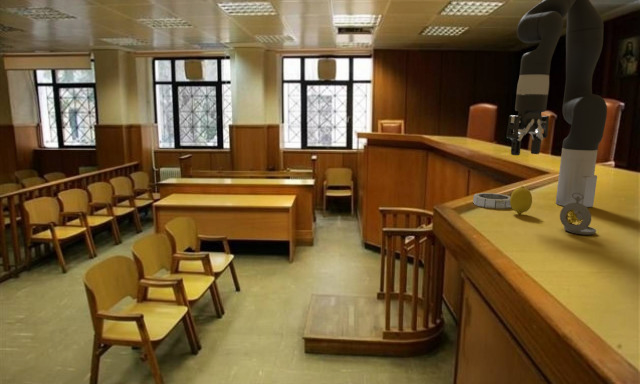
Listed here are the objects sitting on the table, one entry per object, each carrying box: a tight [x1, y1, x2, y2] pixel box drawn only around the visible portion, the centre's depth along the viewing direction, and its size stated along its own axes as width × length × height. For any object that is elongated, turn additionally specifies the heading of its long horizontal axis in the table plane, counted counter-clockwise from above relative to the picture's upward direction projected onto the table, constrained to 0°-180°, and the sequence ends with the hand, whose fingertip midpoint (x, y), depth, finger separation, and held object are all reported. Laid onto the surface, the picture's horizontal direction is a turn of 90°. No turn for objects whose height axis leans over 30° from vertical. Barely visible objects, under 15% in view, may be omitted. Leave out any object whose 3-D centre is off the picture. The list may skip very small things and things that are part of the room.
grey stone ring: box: [472, 192, 512, 210], centre depth 133 cm, size 11×11×2 cm
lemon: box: [510, 185, 533, 215], centre depth 121 cm, size 6×6×8 cm
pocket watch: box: [559, 193, 597, 236], centre depth 103 cm, size 8×8×10 cm
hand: (525, 154), depth 118 cm, fingers open, 8 cm apart
